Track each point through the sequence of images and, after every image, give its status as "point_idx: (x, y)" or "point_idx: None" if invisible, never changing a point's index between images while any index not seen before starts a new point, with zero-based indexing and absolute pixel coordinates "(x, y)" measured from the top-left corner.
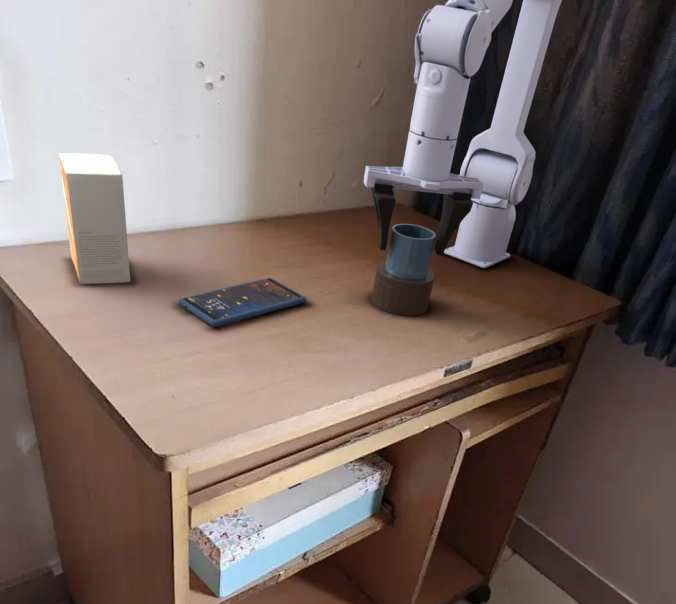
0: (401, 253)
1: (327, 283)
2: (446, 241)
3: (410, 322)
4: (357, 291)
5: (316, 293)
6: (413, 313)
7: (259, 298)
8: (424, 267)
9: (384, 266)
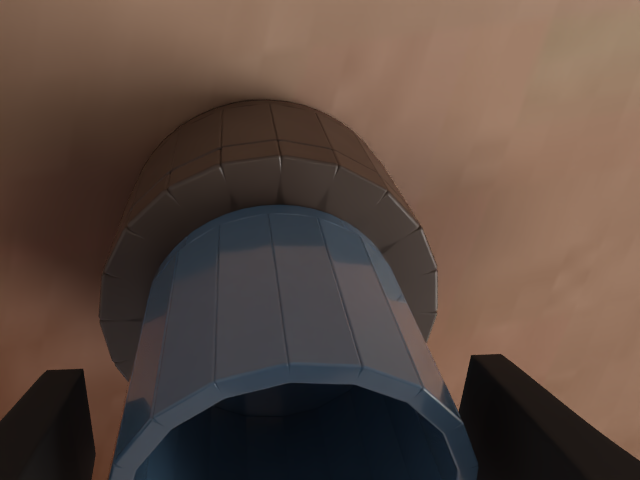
0: (390, 304)
1: (527, 355)
2: (4, 436)
3: (254, 25)
4: None
5: (607, 262)
6: (224, 108)
7: None
8: (192, 264)
9: None
